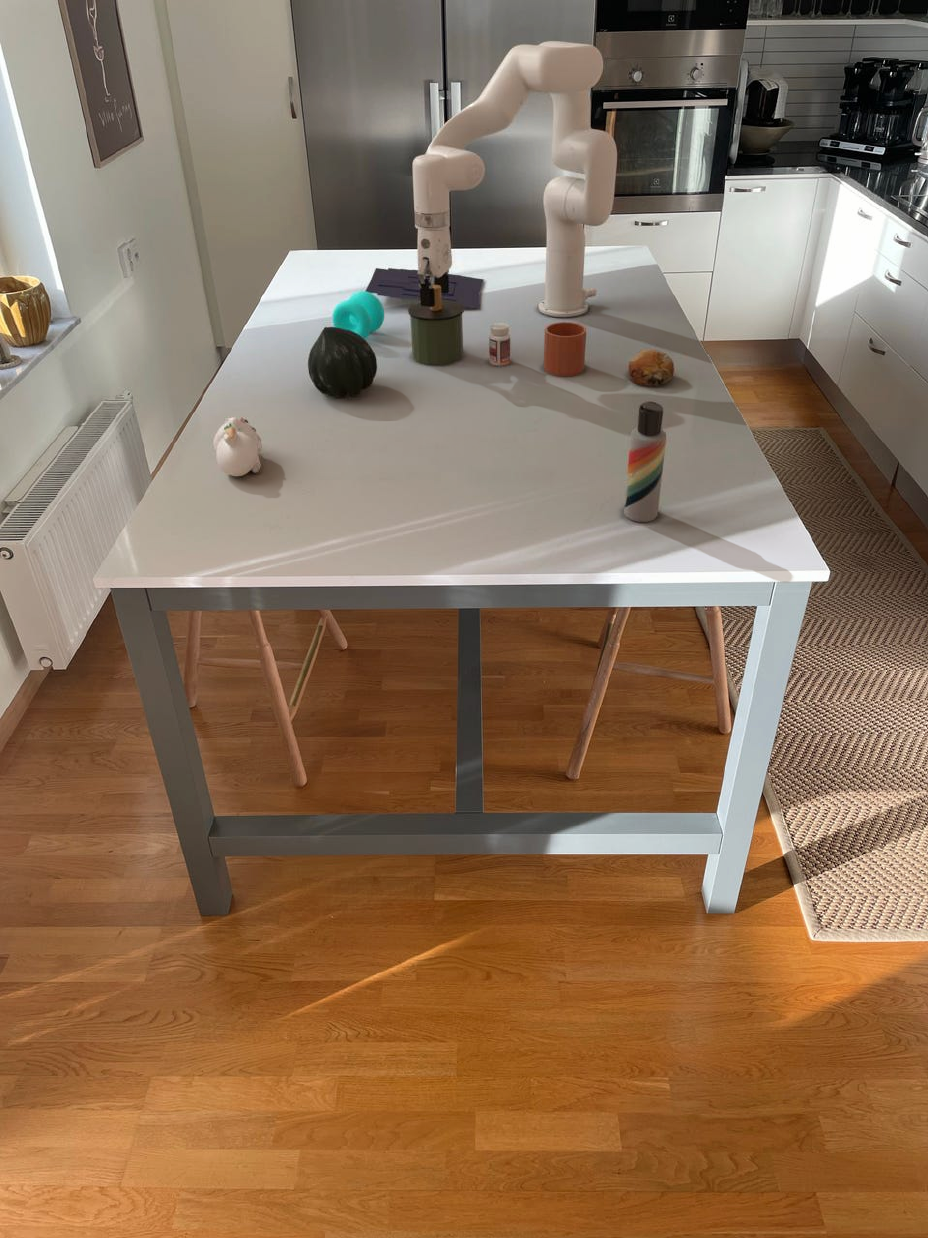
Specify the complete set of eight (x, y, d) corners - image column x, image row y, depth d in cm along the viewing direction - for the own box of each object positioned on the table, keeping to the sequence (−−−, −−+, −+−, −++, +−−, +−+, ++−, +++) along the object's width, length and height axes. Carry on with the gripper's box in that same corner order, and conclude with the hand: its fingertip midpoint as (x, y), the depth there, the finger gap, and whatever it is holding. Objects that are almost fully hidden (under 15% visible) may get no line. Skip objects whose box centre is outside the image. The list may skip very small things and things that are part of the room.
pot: (444, 342, 229) (442, 299, 223) (472, 357, 221) (471, 312, 215) (403, 354, 224) (400, 309, 218) (431, 369, 216) (428, 323, 210)
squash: (400, 360, 206) (354, 303, 203) (366, 389, 196) (317, 330, 192) (362, 393, 216) (317, 339, 212) (327, 422, 206) (280, 366, 202)
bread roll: (673, 390, 213) (679, 353, 211) (668, 388, 203) (674, 349, 201) (629, 385, 215) (634, 349, 214) (622, 382, 206) (628, 344, 204)
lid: (443, 300, 224) (442, 274, 220) (475, 315, 215) (474, 287, 212) (397, 312, 218) (396, 285, 214) (428, 327, 210) (427, 299, 206)
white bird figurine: (237, 437, 169) (233, 395, 179) (202, 462, 171) (199, 418, 181) (272, 472, 175) (265, 429, 186) (237, 496, 177) (233, 452, 188)
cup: (566, 357, 220) (568, 319, 215) (592, 369, 214) (594, 330, 209) (535, 367, 216) (536, 328, 210) (561, 379, 210) (563, 339, 204)
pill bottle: (510, 358, 220) (511, 322, 215) (509, 366, 217) (509, 329, 212) (490, 357, 221) (490, 322, 216) (488, 365, 217) (488, 329, 212)
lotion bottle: (620, 506, 165) (629, 398, 153) (653, 504, 166) (664, 396, 154) (627, 523, 161) (638, 413, 149) (661, 521, 161) (674, 411, 149)
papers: (376, 275, 268) (377, 262, 265) (482, 288, 268) (484, 275, 266) (363, 304, 248) (363, 290, 246) (477, 318, 248) (479, 305, 246)
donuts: (332, 341, 231) (328, 300, 225) (351, 327, 239) (347, 287, 233) (369, 346, 228) (366, 304, 222) (387, 332, 236) (384, 291, 230)
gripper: (435, 230, 197) (438, 313, 207) (461, 209, 210) (462, 288, 220) (401, 228, 199) (405, 310, 209) (429, 207, 212) (431, 286, 222)
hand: (435, 299), depth 215 cm, fingers open, 9 cm apart
